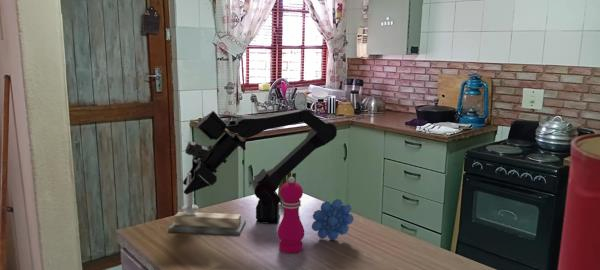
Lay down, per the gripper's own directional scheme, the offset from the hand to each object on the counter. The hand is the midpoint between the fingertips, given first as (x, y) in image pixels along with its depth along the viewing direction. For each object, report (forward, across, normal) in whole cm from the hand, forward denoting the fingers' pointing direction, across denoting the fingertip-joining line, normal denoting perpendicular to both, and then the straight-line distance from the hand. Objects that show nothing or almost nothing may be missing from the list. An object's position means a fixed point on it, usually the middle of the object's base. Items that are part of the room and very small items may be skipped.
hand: (184, 188), depth 136 cm
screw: (+5, 0, +7) cm, 8 cm away
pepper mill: (-10, +22, +28) cm, 37 cm away
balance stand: (+4, +2, +13) cm, 14 cm away
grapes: (-20, +18, +37) cm, 46 cm away
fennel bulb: (-16, -13, +33) cm, 38 cm away
